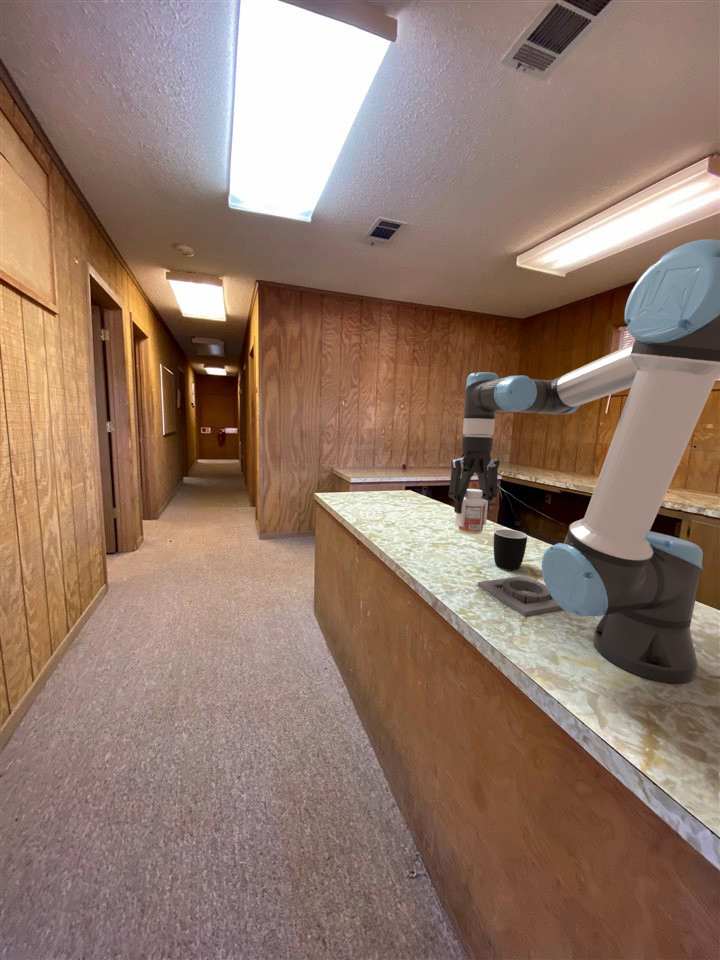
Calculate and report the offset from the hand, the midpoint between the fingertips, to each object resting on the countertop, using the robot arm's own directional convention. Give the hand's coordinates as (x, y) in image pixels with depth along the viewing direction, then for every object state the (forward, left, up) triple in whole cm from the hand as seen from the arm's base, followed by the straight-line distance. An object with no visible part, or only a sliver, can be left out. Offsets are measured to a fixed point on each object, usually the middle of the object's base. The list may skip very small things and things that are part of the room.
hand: (470, 524), depth 99 cm
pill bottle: (0, 0, -2) cm, 2 cm away
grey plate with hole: (-13, -8, -15) cm, 21 cm away
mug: (+5, -18, -15) cm, 24 cm away
